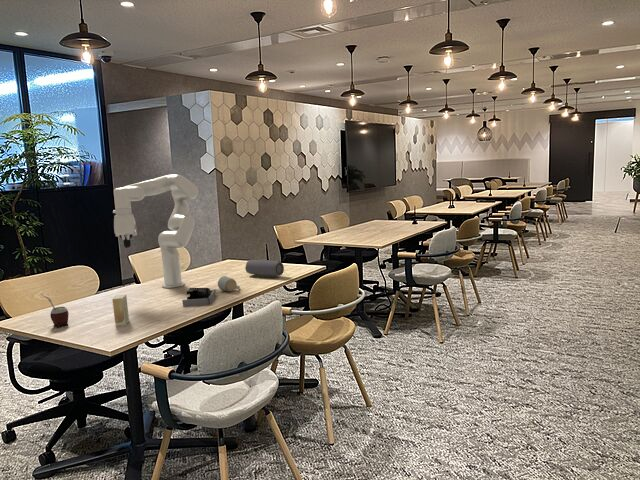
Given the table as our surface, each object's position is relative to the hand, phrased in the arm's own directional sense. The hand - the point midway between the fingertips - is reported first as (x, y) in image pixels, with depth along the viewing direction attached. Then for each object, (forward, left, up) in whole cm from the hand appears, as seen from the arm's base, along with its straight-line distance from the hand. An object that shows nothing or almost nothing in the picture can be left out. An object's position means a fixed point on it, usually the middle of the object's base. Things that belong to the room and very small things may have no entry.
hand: (127, 247), depth 264 cm
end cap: (+16, +37, -27) cm, 49 cm away
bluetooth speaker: (-34, +67, -27) cm, 80 cm away
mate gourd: (+44, -18, -27) cm, 55 cm away
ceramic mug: (-4, +50, -27) cm, 57 cm away
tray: (+15, +37, -27) cm, 48 cm away
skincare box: (+47, +10, -27) cm, 55 cm away
